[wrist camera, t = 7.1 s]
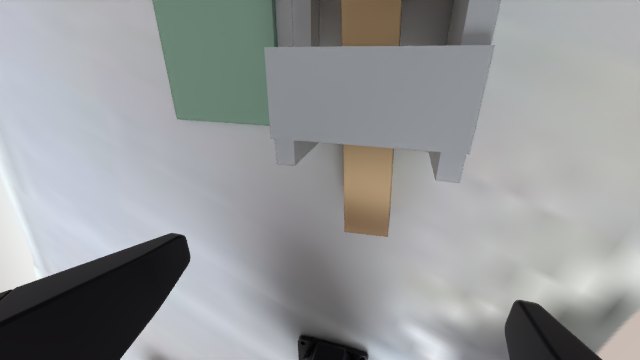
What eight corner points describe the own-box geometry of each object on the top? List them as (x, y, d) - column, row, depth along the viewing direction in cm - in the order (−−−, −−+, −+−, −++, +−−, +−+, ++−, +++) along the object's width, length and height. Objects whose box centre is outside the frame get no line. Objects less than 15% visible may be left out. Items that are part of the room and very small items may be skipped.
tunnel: (446, 152, 16) (461, 187, 12) (304, 141, 18) (272, 167, 14) (480, -23, 13) (520, -65, 8) (301, -11, 15) (257, -40, 11)
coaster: (281, 124, 18) (279, 126, 18) (180, 118, 20) (176, 119, 20) (273, -20, 15) (270, -22, 15) (155, -12, 17) (149, -13, 17)
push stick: (390, 212, 19) (387, 236, 16) (352, 208, 20) (344, 231, 17) (404, -36, 14) (404, -58, 11) (352, -29, 14) (340, -48, 12)
